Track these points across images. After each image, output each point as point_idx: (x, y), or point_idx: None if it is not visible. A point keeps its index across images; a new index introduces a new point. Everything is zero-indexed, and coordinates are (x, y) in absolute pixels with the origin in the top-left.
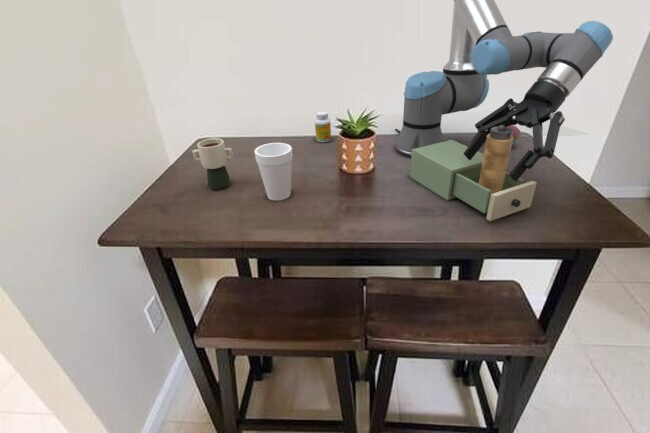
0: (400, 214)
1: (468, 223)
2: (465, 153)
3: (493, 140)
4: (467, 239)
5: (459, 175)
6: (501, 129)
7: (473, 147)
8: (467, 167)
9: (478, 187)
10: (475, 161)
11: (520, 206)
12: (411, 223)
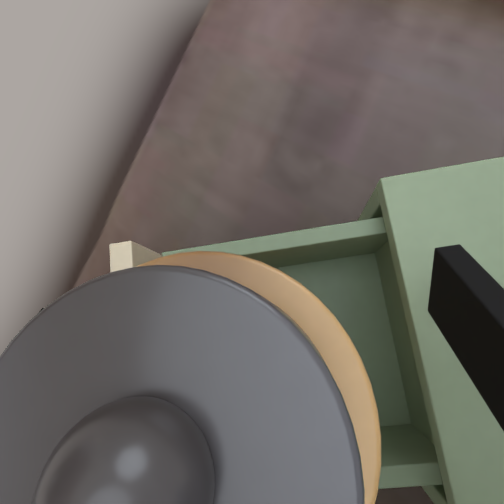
0: (323, 55)
1: (199, 214)
2: (446, 252)
3: (146, 265)
4: (136, 168)
5: (353, 223)
6: (77, 423)
7: (475, 320)
8: (402, 293)
9: (221, 244)
10: (455, 380)
11: None
12: (264, 67)
